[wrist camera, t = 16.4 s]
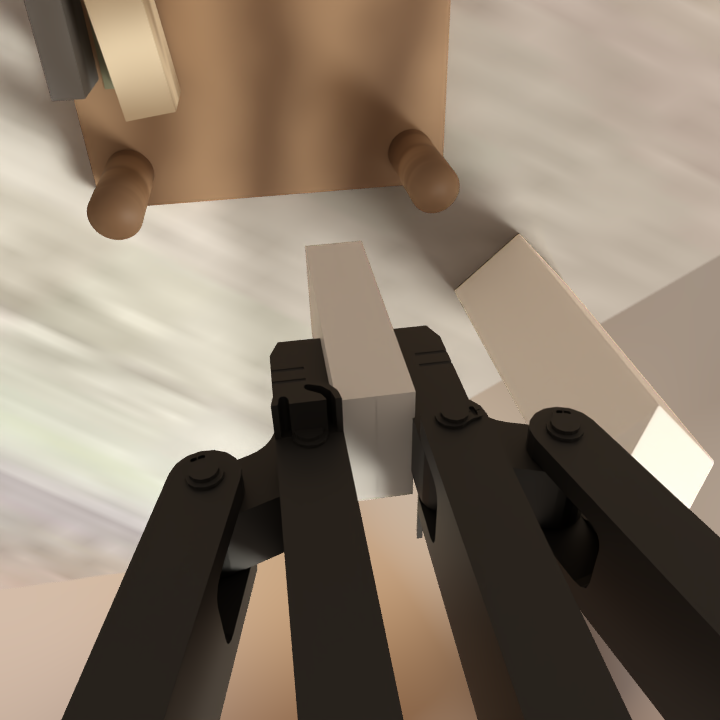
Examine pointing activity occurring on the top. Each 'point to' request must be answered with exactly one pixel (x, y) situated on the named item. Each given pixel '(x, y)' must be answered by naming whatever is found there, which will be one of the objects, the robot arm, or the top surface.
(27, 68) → the top surface
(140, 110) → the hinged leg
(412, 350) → the robot arm
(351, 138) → the wooden peg board
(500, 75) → the top surface
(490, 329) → the milk
